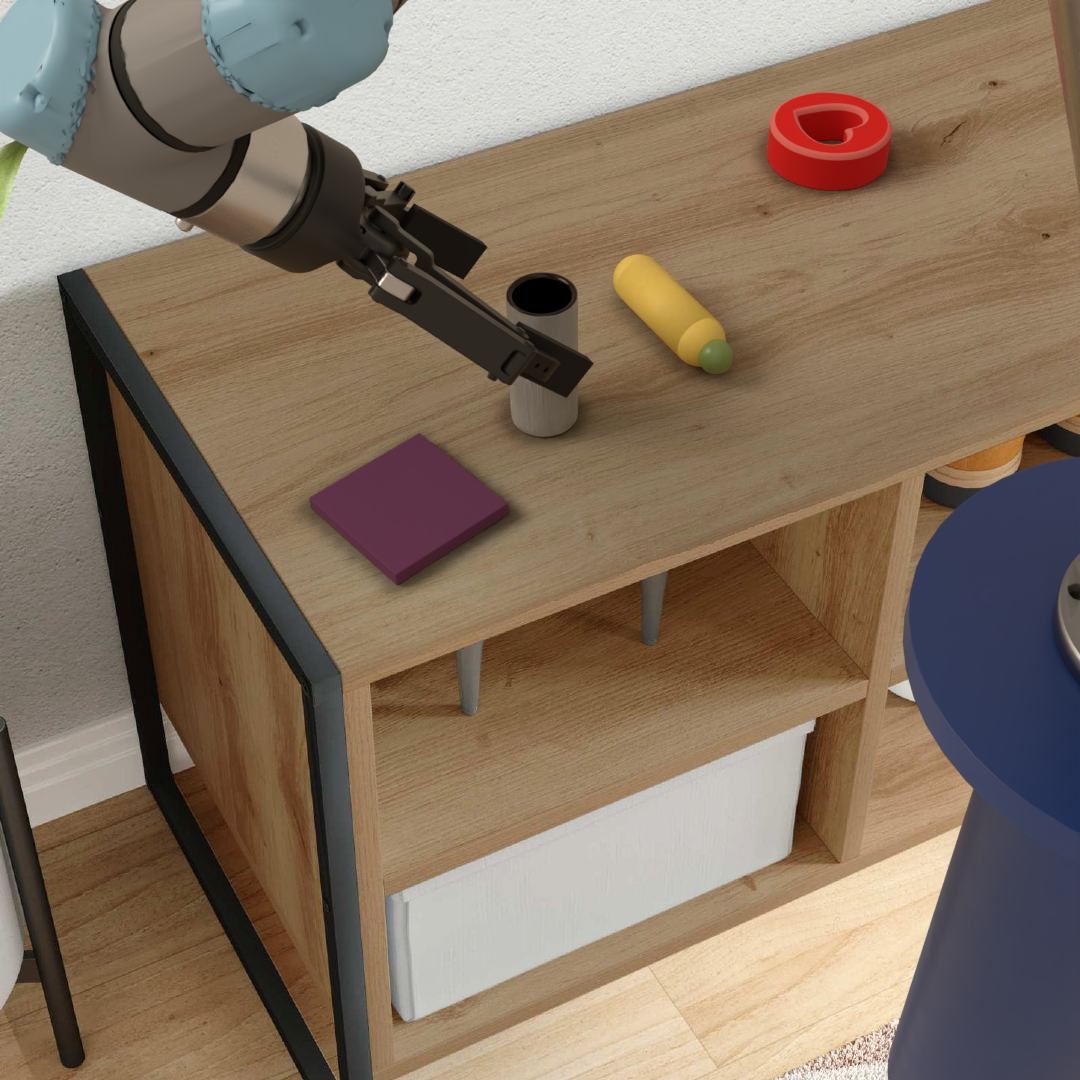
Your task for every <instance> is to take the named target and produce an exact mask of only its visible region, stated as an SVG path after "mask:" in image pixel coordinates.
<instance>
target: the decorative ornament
mask: <svg viewBox="0 0 1080 1080" xmlns="http://www.w3.org/2000/svg"><path fill="white" fill-rule="evenodd" d="M768 125H769V127H768V137H767V146H766V159H767V162H768V164H769V165H770V167H771V168H772V169H773V171H774V172H775V173H776V174H778V176H780V177H781V178H783V179H785V180H787V181H789V182H791V183H793V184H796V185H799V186H802V187H806V188H809V189H814V190H821V191H845V190H852V189H857V188H860V187H863V186H866V185H868V184H870V183H872V182H873V181H875V180H876V179H877V178H879V177H880V176H881V175H882V174H883V173H884V171H885V170H886V168H887V164H888V159H889V153H890V147H891V141H892V136H893V127H892V126H893V125H892V123H891V120H890V118H889V117H888V116H887V114H886V113H885V111H883V110H882V109H881V108H880V107H879V106H877V105H876V104H874V103H872V102H871V101H869V100H866V99H864V98H862V97H859V96H857V95H853V94H847V93H842V92H841V93H840V92H832V91H831V92H830V91H819V92H809V93H805V94H801V95H798V96H794V97H791V98H790V99H788V100H786V101H784V102H782V103H781V104H779V105H778V106H777V108H776V109H775V110H774V111H773V113H772V114H771V116H770V119H769V124H768ZM819 141H842V142H841V143H838V144H837V143H836V144H827V143H823V142H819Z"/></svg>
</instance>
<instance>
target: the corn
mask: <svg viewBox="0 0 1080 1080" xmlns="http://www.w3.org/2000/svg"><path fill="white" fill-rule="evenodd" d="M612 283H613V288H614V290H615V293H616V294H617V296H618V297H619V298H620V299H621V300H622V301H623V302H624V303H625V304H626V305H627V306H628V307H629V308H630V309H631V310H632V311H633V312H634V314H636V315H637V316H638V317H639V318H640V319H641V320H642V321H643V322H644V323H645V324H646V325H647V327H648V328H650V330H651V331H653V332H654V333H655V335H657V337H659V338H660V340H662V342H663V343H664V344H665V345H666V346H668V347H669V349H670V350H671V351H672V352H673V353H675V355H676V356H677V357H678V358H679V359H680V360H681V361H683V362H684V363H685V364H686V365H689V366H692V367H698V368H702V370H703V371H704V372H706V373H708V374H711V375H721V374H723V373H725V372H727V371H728V370H729V369H730V368H731V366H732V365H733V363H734V350H733V348H732V347H731V345H730V344H729V343H728V342H727V338H726V332H725V330H724V328H723V326H722V325H721V323H720V321H718V320H717V319H716V318H715V317H714V316H713V315H712V314H711V313H710V312H709V311H708V310H707V308H705V307H704V306H703V305H701V303H700V302H698V301H697V300H696V299H695V298H694V296H692V294H691V293H689V291H687V290H686V289H685V288H684V287H683V286H682V285H681V284H680V283H679V282H678V281H676V279H675V278H674V277H673V276H671V275H670V273H668V272H667V271H666V270H665V268H663V267H662V266H661V264H659V263H658V262H657V261H656V260H655V259H654V258H652V257H650V256H648V255H645V254H641V253H639V254H637V253H635V254H632V255H631V254H630V255H629V256H626V257H625V258H623V259H622V260H620V261H619V263H618V264H617V265H616V267H615V268H614V272H613V277H612Z"/></svg>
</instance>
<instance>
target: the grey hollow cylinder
mask: <svg viewBox="0 0 1080 1080" xmlns="http://www.w3.org/2000/svg"><path fill="white" fill-rule="evenodd" d="M505 308H506V318H507V319H508V320H509V321H511V322H512V323H513V324H515V325H516V324H517V323H518V321H520V322H522V323H523V324H525V325H527V326H529V327H531V328H533V329H535V330H537V331H539V332H541V333H543V334H545V335H547V336H549V337H551V338H553V339H554V340H556V341H558V342H560V343H562V344H564V345H566V346H568V347H570V348H572V349H574V350H576V351H578V352H579V292H578V289H577V287H576V285H575V284H574V282H572V281H571V280H570V279H569V278H567V277H565V276H562V274H558V273H554V272H547V271H539V272H531V273H528V274H525V275H521V276H520V277H518V278H517V279H515V280H514V281H512V282H511V283H510V285H509V286H508V287H507V289H506V292H505ZM509 403H510V416H511V420H512V422H513V424H514V426H515V427H516V428H517V429H518V430H520V432H523V433H524V434H527V435H529V436H533V437H540V438H549V437H554V436H558V435H561V434H564V433H565V432H567V431H569V430H570V429H571V428H572V427H573V426H574V425H575V423H576V422H577V419H578V415H579V383H578V384H577V386H576V387H575V388H574V389H573V391H572V392H571V393H570V395H569V396H568V397H567V398H565V397H563V396H561V395H559V394H557V393H555V392H552V391H550V390H548V389H546V388H544V387H542V386H540V385H538V384H536V383H534V382H532V381H529V380H527V379H525V378H523V377H521V376H518V378H517V379H516V380H515V381H514V383H513V384H512V385H509Z"/></svg>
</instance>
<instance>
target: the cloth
mask: <svg viewBox="0 0 1080 1080" xmlns="http://www.w3.org/2000/svg"><path fill="white" fill-rule="evenodd" d="M308 500H309V505H310V509H311V510H312V511H313V512H314V513H316V514H317V515H318V516H319V517H320V518H321V519H322V520H324V522H325V523H327V524H328V525H329V526H330V527H331V528H332V529H334V531H335V532H337V533H338V534H339V536H341V537H342V538H344V539H345V540H346V541H347V542H348V543H349V544H350V545H352V546H353V547H354V548H355V549H356V550H357V551H358V552H359V553H360V554H361V555H362V556H364V557H365V558H366V559H367V560H368V561H369V562H370V563H372V564H373V565H374V567H376V568H377V569H378V570H379V571H381V573H383V574H384V575H385V576H386V577H387V578H388V579H389V580H391V581H392V582H393V583H394V584H395V585H396V586H397V585H400V584H401V583H403V582H405V581H406V580H408V579H409V578H411V577H413V576H414V575H416V574H417V573H419V572H420V571H421V570H423V569H425V568H426V567H428V566H430V565H431V564H433V563H434V562H436V561H437V560H439V559H441V558H442V557H444V556H445V555H447V554H448V553H450V552H451V551H453V550H455V549H456V548H458V547H460V546H461V545H462V544H464V543H466V542H467V541H469V540H470V539H472V538H473V537H475V536H477V535H478V534H479V533H481V532H483V531H485V530H486V529H487V528H489V527H491V526H492V525H494V524H495V523H497V522H499V521H500V520H502V519H504V518H505V517H507V515H509V504H508V502H506V501H505V500H504V499H503V498H502V497H500V496H499V495H498V494H497V493H495V492H494V491H493V490H491V489H490V488H489V487H488V486H486V485H485V484H484V483H482V482H481V481H480V480H479V479H478V478H477V477H475V476H474V475H472V474H471V473H470V472H469V471H468V470H467V469H465V468H464V467H463V466H461V465H460V464H459V463H458V462H456V460H454V459H452V458H451V457H450V456H449V455H448V454H446V453H445V452H444V451H443V450H441V449H440V448H439V447H438V446H436V445H435V444H434V443H433V442H432V441H430V440H429V439H427V438H426V437H425V436H424V435H423V434H422V433H420V432H418V433H416V434H415V435H413V436H411V437H410V438H408V439H406V440H404V441H403V442H401V443H399V444H398V445H396V446H394V447H393V448H391V449H389V450H387V451H386V452H384V453H382V454H380V455H379V456H377V457H376V458H374V459H372V460H371V461H368V462H367V463H365V464H363V465H362V466H360V467H359V468H356V469H355V470H353V471H352V472H350V473H348V474H347V475H345V476H343V477H341V478H340V479H338V480H336V481H335V482H333V483H331V484H330V485H327V486H326V487H324V488H323V489H321V490H319V491H318V492H316V493H314V494H313V495H311V496H309V497H308Z"/></svg>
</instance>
